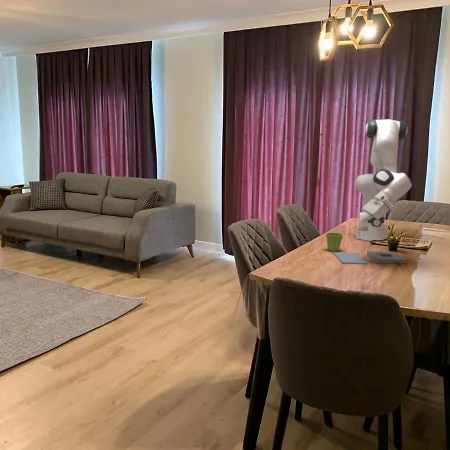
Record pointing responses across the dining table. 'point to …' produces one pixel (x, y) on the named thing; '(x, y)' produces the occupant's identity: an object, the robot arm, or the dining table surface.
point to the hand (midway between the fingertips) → (362, 220)
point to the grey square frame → (386, 257)
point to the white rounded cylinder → (363, 224)
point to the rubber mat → (349, 258)
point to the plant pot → (333, 241)
